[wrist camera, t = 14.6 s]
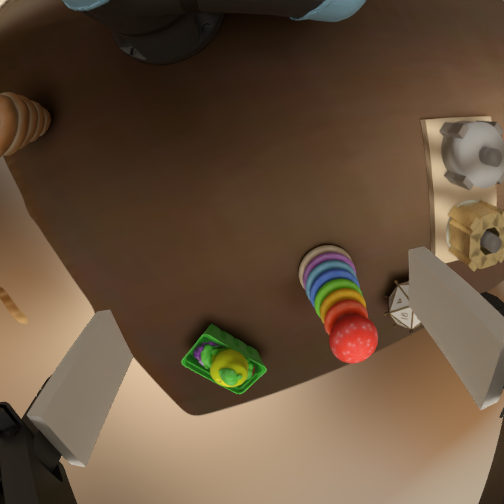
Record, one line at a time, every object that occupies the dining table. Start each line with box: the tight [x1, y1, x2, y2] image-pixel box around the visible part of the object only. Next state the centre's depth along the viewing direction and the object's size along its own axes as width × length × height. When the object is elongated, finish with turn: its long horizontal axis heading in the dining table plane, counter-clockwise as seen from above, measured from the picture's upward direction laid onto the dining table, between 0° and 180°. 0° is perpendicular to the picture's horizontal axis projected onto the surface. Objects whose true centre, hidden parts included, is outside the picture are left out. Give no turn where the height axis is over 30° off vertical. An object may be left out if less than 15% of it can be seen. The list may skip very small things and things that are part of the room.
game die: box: [384, 277, 423, 335], centre depth 44 cm, size 9×8×10 cm
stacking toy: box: [299, 245, 378, 363], centre depth 37 cm, size 8×8×19 cm
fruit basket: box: [182, 324, 267, 394], centre depth 46 cm, size 11×9×11 cm
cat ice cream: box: [0, 92, 51, 157], centre depth 29 cm, size 9×8×18 cm
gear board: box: [420, 116, 504, 263], centre depth 37 cm, size 22×13×9 cm, turn 13°
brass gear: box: [448, 200, 504, 271], centre depth 39 cm, size 8×8×6 cm
